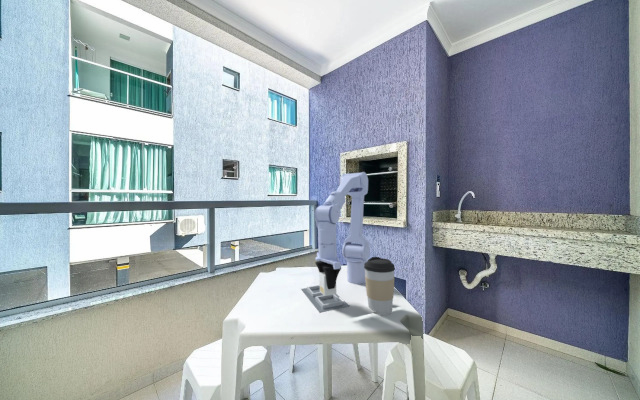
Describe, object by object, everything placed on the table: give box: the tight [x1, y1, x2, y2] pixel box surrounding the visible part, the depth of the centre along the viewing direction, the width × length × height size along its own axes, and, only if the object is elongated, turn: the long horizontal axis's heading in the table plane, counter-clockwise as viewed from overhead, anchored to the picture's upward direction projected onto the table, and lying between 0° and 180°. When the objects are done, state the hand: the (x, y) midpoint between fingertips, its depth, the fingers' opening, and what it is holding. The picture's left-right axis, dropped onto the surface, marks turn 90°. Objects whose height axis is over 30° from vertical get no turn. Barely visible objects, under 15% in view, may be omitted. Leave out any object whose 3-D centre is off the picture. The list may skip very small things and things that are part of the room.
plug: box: [319, 272, 337, 296], centre depth 70 cm, size 4×4×7 cm
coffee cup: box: [364, 256, 396, 316], centre depth 67 cm, size 9×9×15 cm
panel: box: [300, 284, 351, 314], centre depth 74 cm, size 10×19×2 cm, turn 22°
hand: (328, 285), depth 70 cm, fingers closed on plug, 4 cm apart
